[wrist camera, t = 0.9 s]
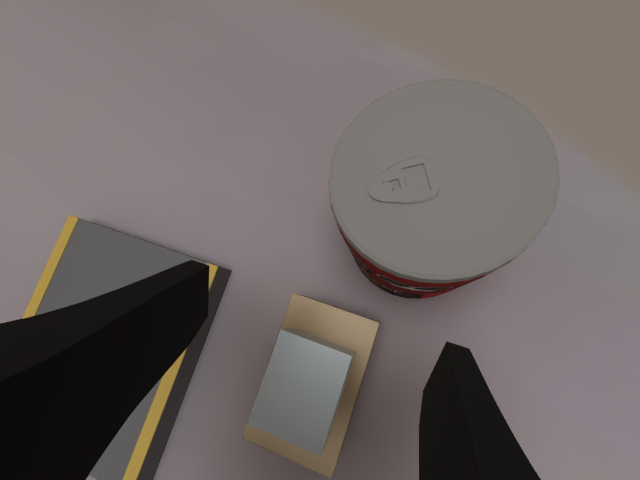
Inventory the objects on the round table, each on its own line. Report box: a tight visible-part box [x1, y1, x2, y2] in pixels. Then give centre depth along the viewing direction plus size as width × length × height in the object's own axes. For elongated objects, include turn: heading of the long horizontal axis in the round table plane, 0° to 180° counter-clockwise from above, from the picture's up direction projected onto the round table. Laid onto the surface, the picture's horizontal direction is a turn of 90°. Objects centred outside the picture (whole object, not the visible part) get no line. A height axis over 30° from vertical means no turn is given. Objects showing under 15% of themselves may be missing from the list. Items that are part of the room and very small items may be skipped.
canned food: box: [328, 79, 559, 298], centre depth 18 cm, size 8×8×11 cm
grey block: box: [248, 328, 356, 457], centre depth 18 cm, size 4×4×3 cm
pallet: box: [242, 293, 380, 479], centre depth 21 cm, size 8×5×4 cm, turn 161°
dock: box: [22, 215, 231, 480], centre depth 24 cm, size 14×12×2 cm
